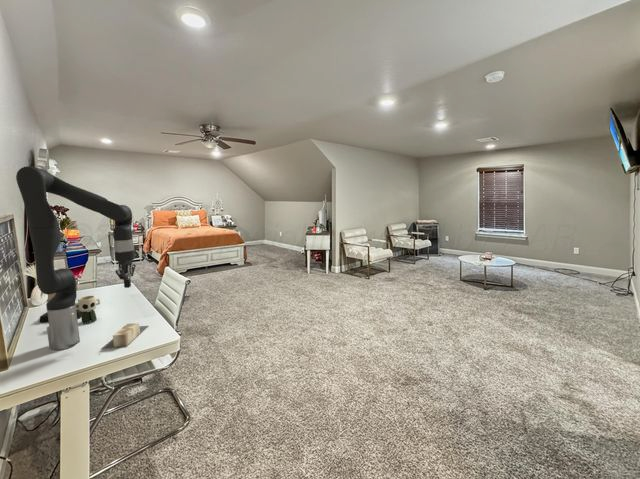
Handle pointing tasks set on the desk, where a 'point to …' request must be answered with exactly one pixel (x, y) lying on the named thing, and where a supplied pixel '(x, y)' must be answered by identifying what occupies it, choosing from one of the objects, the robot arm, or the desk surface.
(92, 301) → the character mug
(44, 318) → the portable cd player
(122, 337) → the birch block
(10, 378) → the desk surface
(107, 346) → the rubber mat
